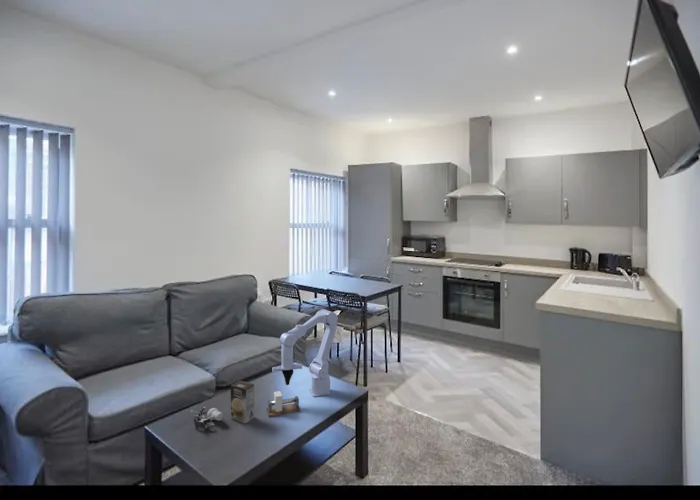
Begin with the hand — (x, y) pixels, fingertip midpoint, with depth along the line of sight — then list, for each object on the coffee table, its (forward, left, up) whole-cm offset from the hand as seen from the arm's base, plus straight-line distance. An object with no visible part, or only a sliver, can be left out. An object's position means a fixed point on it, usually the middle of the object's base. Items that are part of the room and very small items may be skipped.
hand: (287, 384), depth 187 cm
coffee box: (+22, +7, -10) cm, 25 cm away
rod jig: (+3, +7, -10) cm, 12 cm away
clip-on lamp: (+38, +4, -10) cm, 40 cm away
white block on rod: (+6, +7, -8) cm, 12 cm away
